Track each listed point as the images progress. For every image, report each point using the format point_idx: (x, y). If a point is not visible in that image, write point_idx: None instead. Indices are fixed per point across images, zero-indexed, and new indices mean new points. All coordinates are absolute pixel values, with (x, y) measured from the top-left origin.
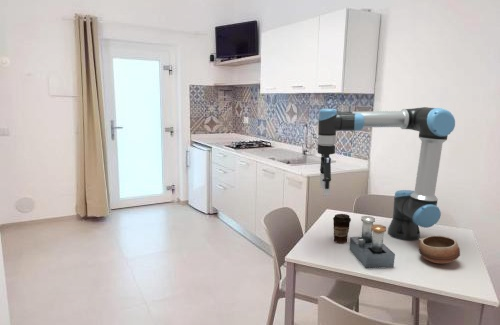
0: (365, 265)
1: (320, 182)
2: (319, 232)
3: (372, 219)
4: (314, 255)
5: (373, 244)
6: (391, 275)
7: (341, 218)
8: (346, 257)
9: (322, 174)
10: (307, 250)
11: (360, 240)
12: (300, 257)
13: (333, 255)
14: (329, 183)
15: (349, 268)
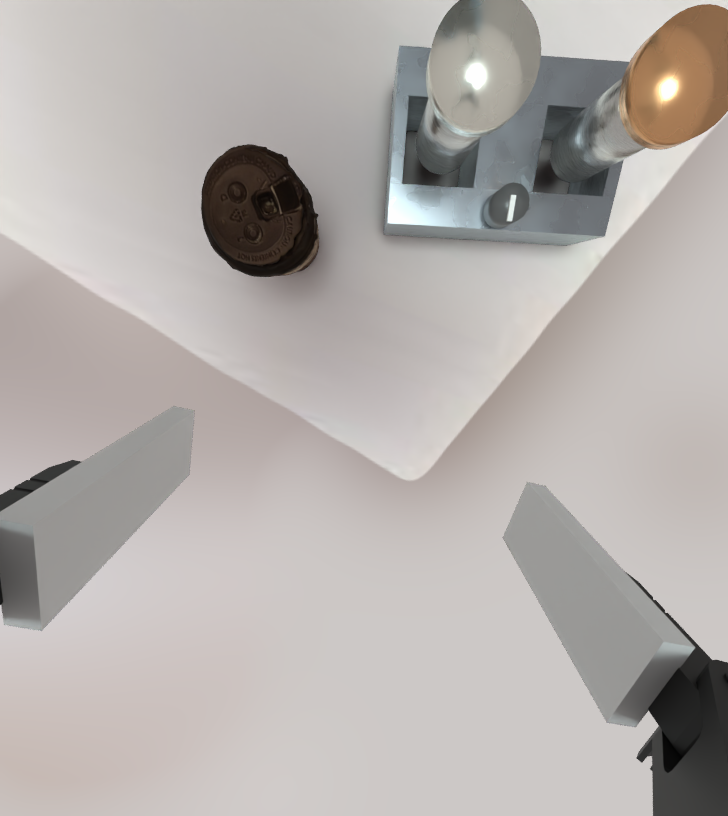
0: (567, 243)
1: (151, 510)
2: (182, 305)
3: (526, 35)
4: (416, 403)
5: (603, 168)
6: (651, 159)
7: (294, 234)
8: (457, 284)
9: (46, 589)
10: (370, 415)
11: (516, 215)
12: (423, 454)
13: (429, 331)
14: (651, 614)
15: (546, 312)
